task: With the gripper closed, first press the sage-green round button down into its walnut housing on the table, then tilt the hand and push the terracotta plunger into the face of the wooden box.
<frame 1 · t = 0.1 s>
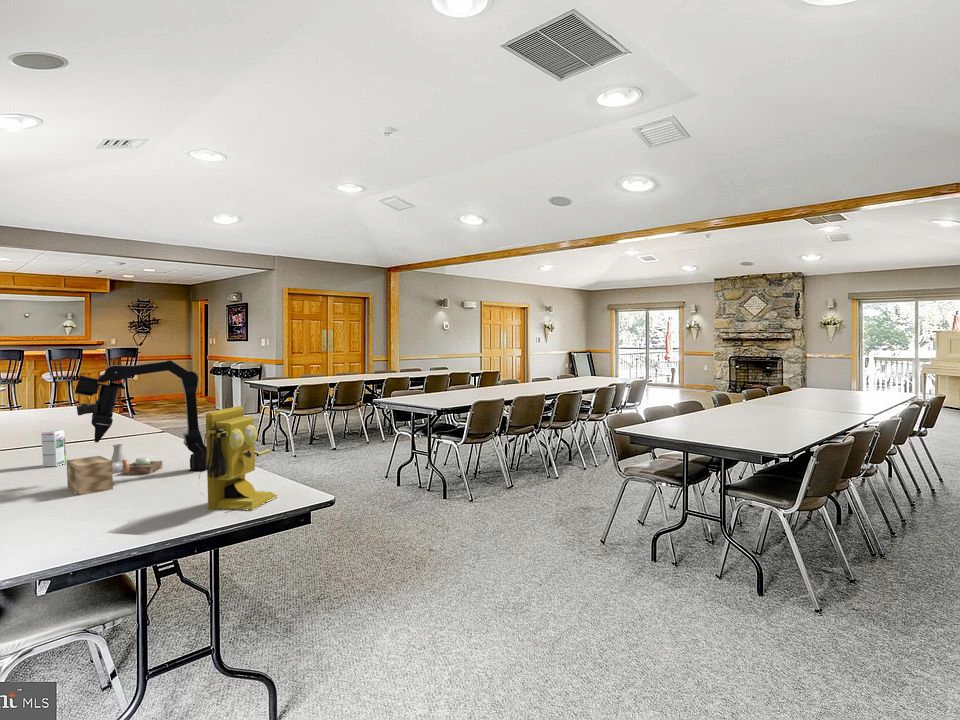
hand: (96, 440, 212), 15 cm above the table, tool pointing down, fingers open, 9 cm apart
table button: (143, 462, 229), point 4 cm above the table, slide at 0.0 cm
flask: (118, 469, 234), on the table
button housing: (143, 471, 229), on the table
vintage telephone: (243, 504, 184), on the table
wooden box: (90, 488, 203), on the table
syrup box: (54, 465, 241), on the table
plunger: (114, 468, 209), point 6 cm above the table, slide at 0.0 cm
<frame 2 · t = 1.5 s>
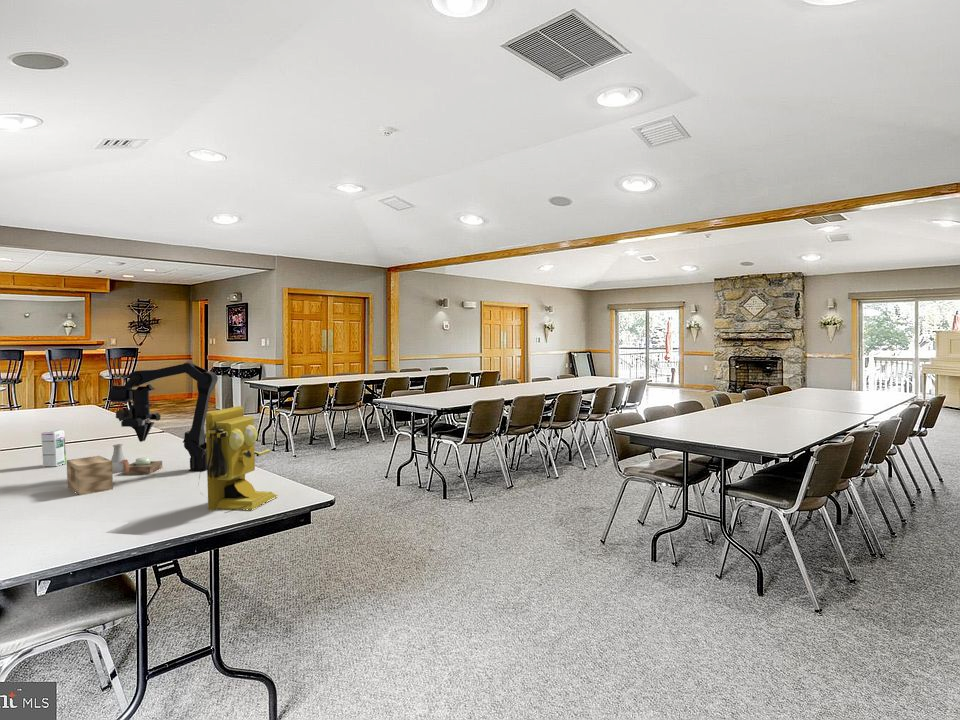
hand: (142, 441, 229), 12 cm above the table, tool pointing down, fingers closed
nothing on the table moved.
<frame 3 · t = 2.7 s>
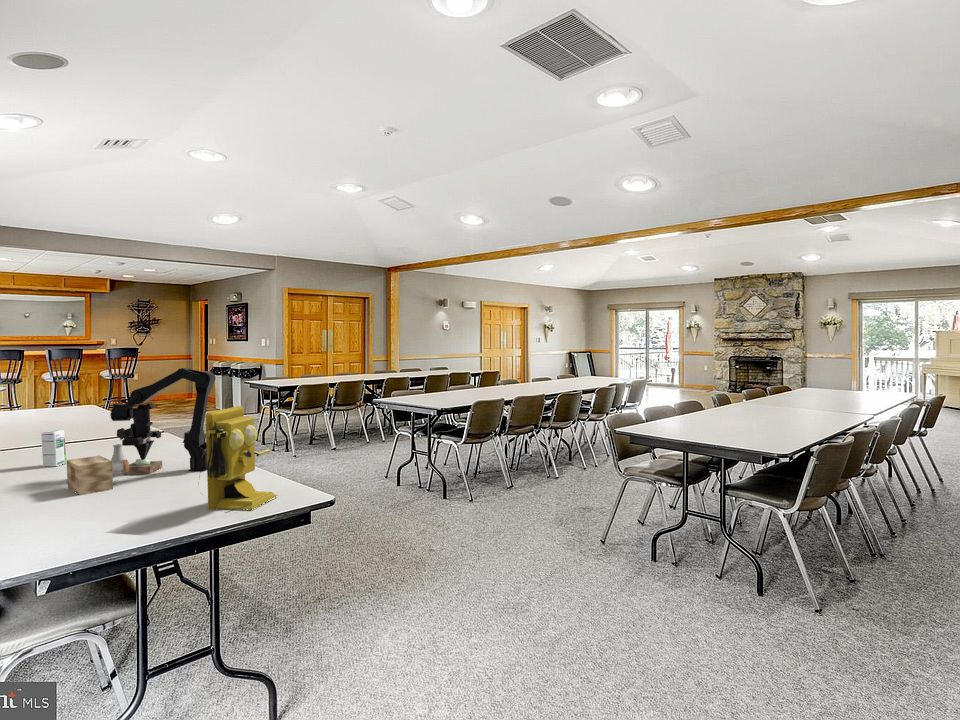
hand: (143, 459, 229), 5 cm above the table, tool pointing down, fingers closed, pressing on table button
table button: (143, 463, 229), point 3 cm above the table, slide at 0.3 cm, touching gripper
everything else where it was.
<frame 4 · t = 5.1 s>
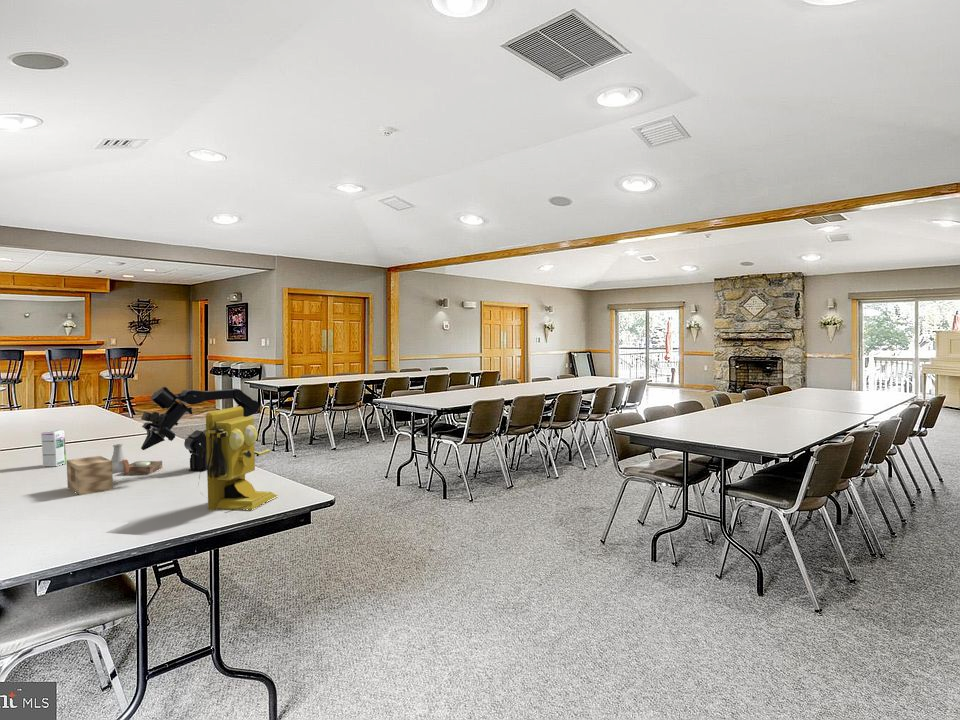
hand: (142, 449, 216), 11 cm above the table, tool tilted 45°, fingers closed
table button: (143, 466, 229), point 2 cm above the table, slide at 1.6 cm
everything else where it was.
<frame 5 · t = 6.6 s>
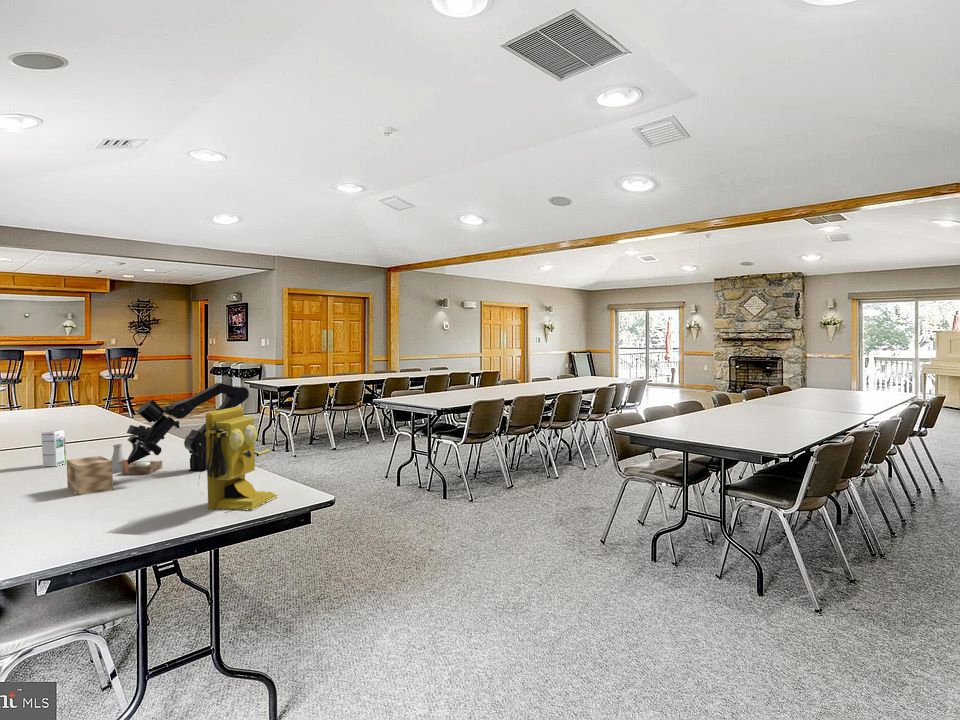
hand: (127, 463, 212), 7 cm above the table, tool tilted 45°, fingers closed, pressing on plunger
plunger: (113, 468, 209), point 6 cm above the table, slide at 0.2 cm, touching gripper
everything else where it was.
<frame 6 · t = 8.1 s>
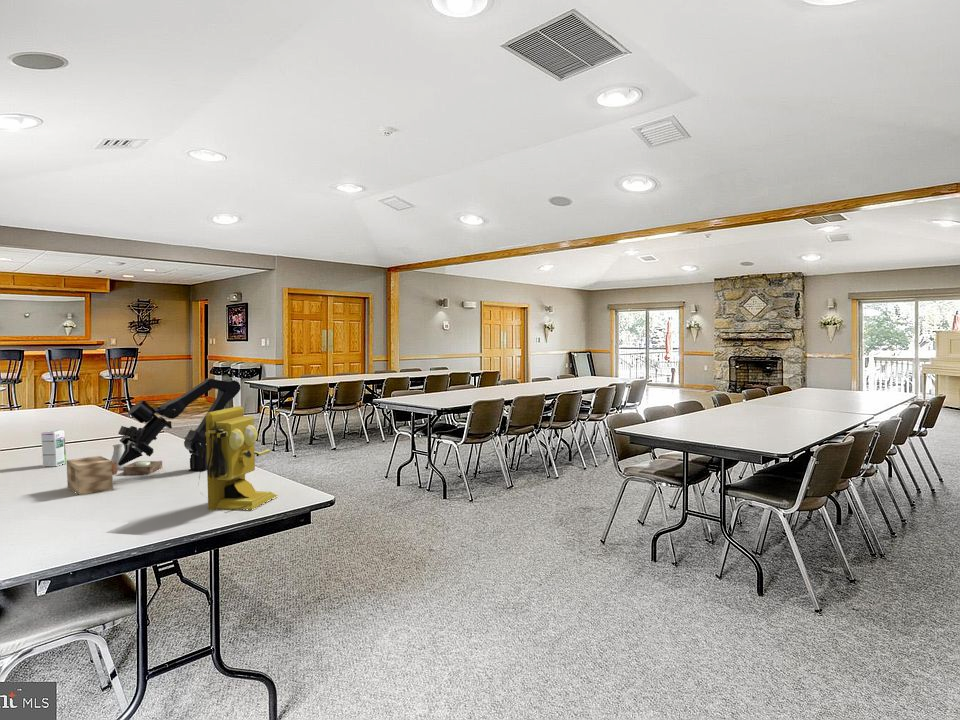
hand: (118, 465, 210), 7 cm above the table, tool tilted 45°, fingers closed
plunger: (102, 469, 206), point 6 cm above the table, slide at 3.8 cm
everything else where it was.
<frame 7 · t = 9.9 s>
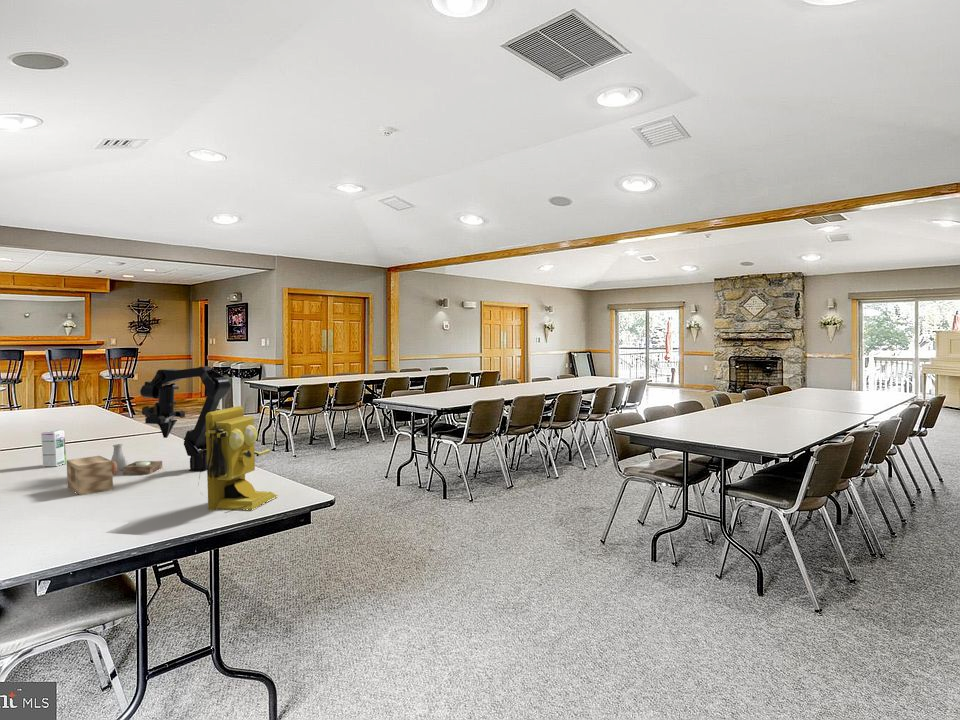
hand: (165, 437, 236), 12 cm above the table, tool pointing down, fingers closed
nothing on the table moved.
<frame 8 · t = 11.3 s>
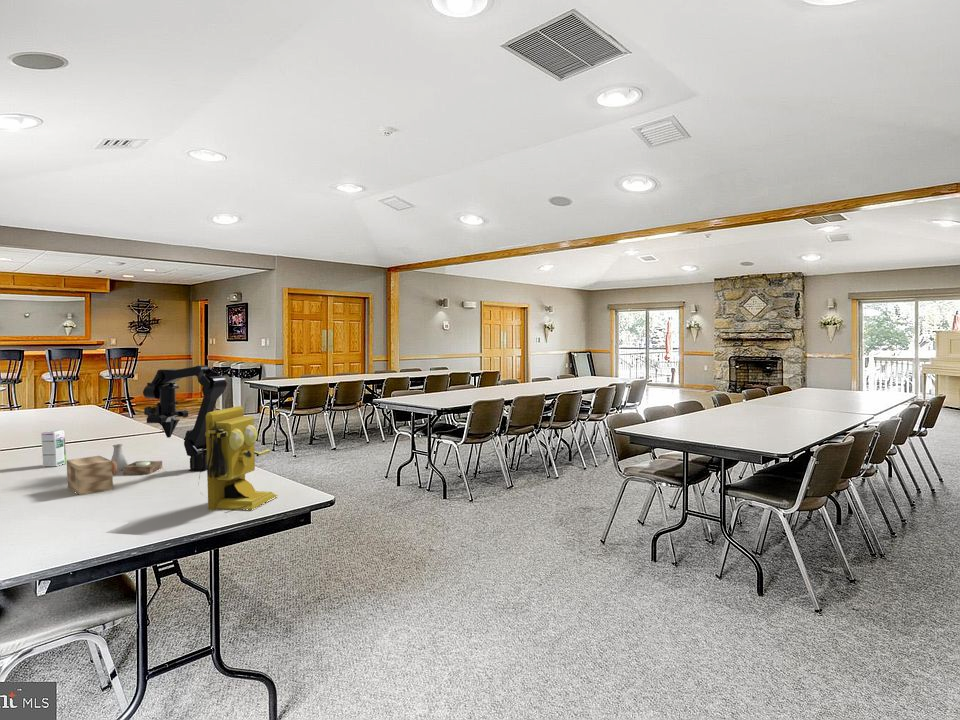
hand: (168, 437, 237), 12 cm above the table, tool pointing down, fingers closed
nothing on the table moved.
at the end: table button slide at 1.6 cm; plunger slide at 3.8 cm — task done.
